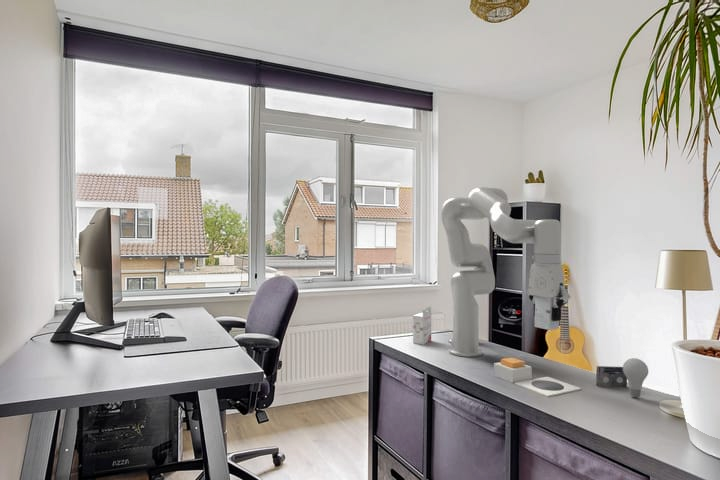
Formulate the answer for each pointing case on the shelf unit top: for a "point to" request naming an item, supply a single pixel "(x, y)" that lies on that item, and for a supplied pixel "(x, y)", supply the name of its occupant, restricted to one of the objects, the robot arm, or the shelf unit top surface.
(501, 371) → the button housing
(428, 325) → the ink cartridge box
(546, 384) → the white plate with oval
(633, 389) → the lightbulb
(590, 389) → the shelf unit top surface
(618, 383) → the mini dv tape
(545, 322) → the skincare box
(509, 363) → the button
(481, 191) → the robot arm
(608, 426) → the shelf unit top surface
